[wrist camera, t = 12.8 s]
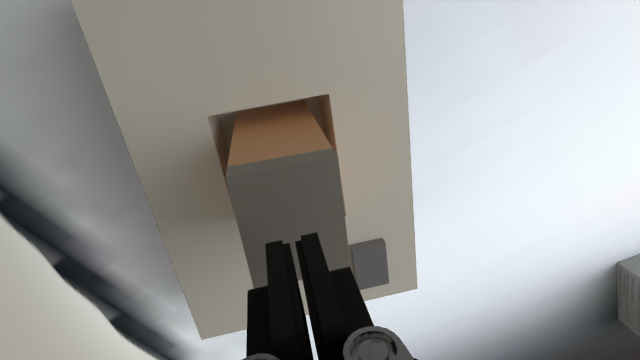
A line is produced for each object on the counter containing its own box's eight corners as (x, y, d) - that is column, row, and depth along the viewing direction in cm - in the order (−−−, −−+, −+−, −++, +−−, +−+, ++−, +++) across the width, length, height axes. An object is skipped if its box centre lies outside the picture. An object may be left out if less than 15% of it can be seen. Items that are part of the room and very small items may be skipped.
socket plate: (106, -15, 19) (54, -26, 14) (367, -54, 21) (404, -77, 16) (209, 287, 28) (200, 347, 23) (391, 246, 29) (421, 294, 24)
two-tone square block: (236, 111, 22) (225, 177, 13) (303, 100, 22) (338, 156, 13) (253, 187, 24) (254, 289, 15) (314, 176, 25) (350, 269, 15)
